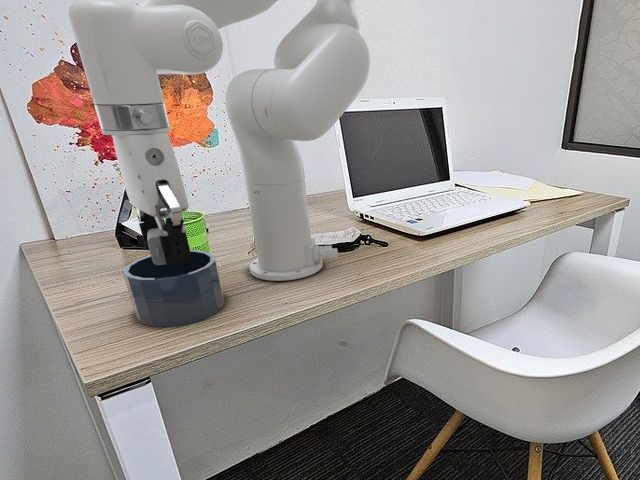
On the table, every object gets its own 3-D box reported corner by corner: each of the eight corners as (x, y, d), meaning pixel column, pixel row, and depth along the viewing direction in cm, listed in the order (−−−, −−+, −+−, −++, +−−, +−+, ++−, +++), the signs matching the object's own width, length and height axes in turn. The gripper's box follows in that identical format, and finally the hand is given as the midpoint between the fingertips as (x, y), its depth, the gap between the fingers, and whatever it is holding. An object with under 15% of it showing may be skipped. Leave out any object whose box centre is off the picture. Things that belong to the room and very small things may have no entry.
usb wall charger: (183, 252, 70) (177, 225, 68) (186, 267, 65) (180, 239, 63) (153, 256, 69) (146, 229, 67) (154, 272, 63) (146, 243, 61)
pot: (205, 285, 78) (196, 244, 74) (237, 308, 70) (229, 264, 67) (126, 307, 70) (112, 263, 67) (152, 335, 63) (138, 287, 60)
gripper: (192, 122, 55) (221, 264, 63) (144, 114, 66) (174, 236, 74) (120, 127, 51) (161, 279, 59) (82, 117, 62) (121, 246, 70)
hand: (168, 254), depth 66 cm, fingers closed on usb wall charger, 7 cm apart
